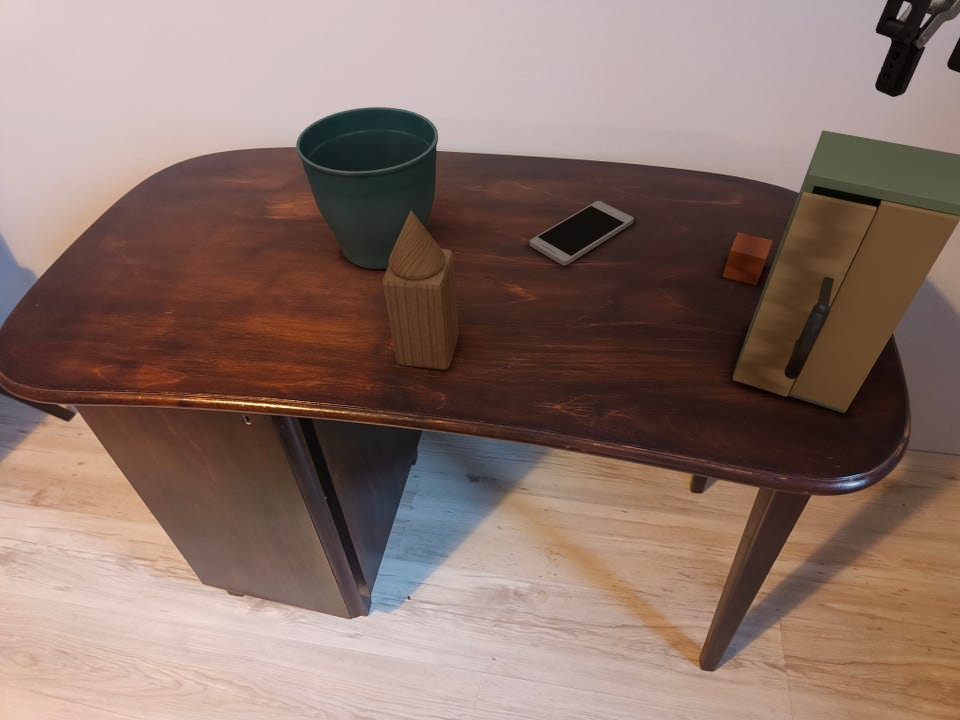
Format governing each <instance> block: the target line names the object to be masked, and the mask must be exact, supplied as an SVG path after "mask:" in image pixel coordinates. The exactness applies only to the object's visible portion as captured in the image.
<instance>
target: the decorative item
mask: <svg viewBox="0 0 960 720" xmlns="http://www.w3.org/2000/svg"><path fill="white" fill-rule="evenodd" d="M454 260H455V259H454V254H453V251H452V250H450V249H446V248H441V247H440V245H439V244H438V243H437V241H436V240H435V239H434V238H433V236H432V235H431V234H430V232H429V231H428V230H427V228H426V229H425V227H424V226H423V225H422V223H421V222H420V221H419V220H418V218H417V217H416V216H415V214H414V213H413V212H412V210H411V211H410V213H409V215H408V217H407V219H406V222H405V224H404V226H403V228H402V230H401V233H400V235H399V237H398V239H397V242H396V244H395V246H394V248H393V250H392V253H391V255H390V258H389V266H388V268H386V271H385V273H384V276H383V278H382V288H383V292H384V298H385V304H386V310H387V316H388V320H389V326H390V332H391V338H392V345H393V349H394V356H395V360H396V363H397V365H399V366H404V367H415V368H422V369H433V370H440V371H441V370H442V371H446V370H448V369H450V366H451V363H452V361H453V357H454V353H455V350H456V347H457V343H458V339H459V335H460V332H459V318H458V303H457V289H456V276H455V275H456V274H455V261H454Z"/></svg>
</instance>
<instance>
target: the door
mask: <svg viewBox="0 0 960 720" xmlns="http://www.w3.org/2000/svg"><path fill="white" fill-rule="evenodd" d="M876 209H877V207H874V206H869V205H864V204H860V203H855V202H850V201H845V200H841V199H836V198H831V197H826V196H822V195H817V194H812V193H807V192H803V194H802V197H801V199H800V202H799V205H798V207H797V210H796V213H795V215H794V218H793V221H792V223H791V226H790V229H789V231H788V234H787V236H786V239H785V242H784V244H783V247H782V250H781V252H780V255H779V258H778V260H777V263H776V266H775V268H774V271H773V274H772V276H771V279H770V282H769V284H768V287H767V290H766V292H765V295H764V298H763V300H762V303H761V306H760V308H759V311H758V314H757V316H756V319H755V321H754V324H753V327H752V329H751V332H750V335H749V337H748V340H747V343H746V345H745V348H744V351H743V353H742V356H741V359H740V361H739V364H738V367H737V369H736V372H735V375H734V377H733V376H732V377H733V378H732V381H735V382H738V383H742V384H745V385H747V386H751V387H754V388H757V389H760V390H763V391H767V392H770V393H773V394H775V395H780V396H782V397H786V398H787V397H788V393H789V391H790V389H791V387H792V385H793V383H794V381H795V379H796V378H798V377H799V375H800V373H801V371H802V369H803V367H804V365H805V363H806V361H807V359H808V357H809V355H810V353H811V351H812V349H813V346H814V344H815V342H816V340H817V338H818V336H819V334H820V332H821V330H822V328H823V326H824V324H825V322H826V320H827V318H828V315H829V313H830V310H831V309H830V306H831V304H832V302H833V299H834V297H835V295H836V293H837V291H838V289H839V287H840V285H841V283H842V281H843V279H844V277H845V274H846V272H847V270H848V268H849V266H850V264H851V262H852V260H853V258H854V256H855V254H856V252H857V249H858V247H859V245H860V243H861V241H862V239H863V237H864V235H865V233H866V231H867V229H868V227H869V224H870V222H871V220H872V218H873V216H874V214H875V212H876Z"/></svg>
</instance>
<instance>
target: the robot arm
mask: <svg viewBox="0 0 960 720" xmlns="http://www.w3.org/2000/svg"><path fill="white" fill-rule="evenodd" d="M904 2H905V3H908V6H907V7H906V9H905V10H904V11H903V12H902V13H901V15H900V16H899V14H900V11H901V8H902V6H903V4H904ZM959 14H960V0H886V3H885V5H884V8H883V10H882V13H881V15H880V17H879V19H878V22H877V24H876V25H875V33H876V34H878V35H881V36H883V37H886V38H889V39H890V45H889V48H888V51H887V53H886V56H885V58H884V61H883V63H882V66H881V68H880V71H879V73H878V74H877V77H876V81H875V84H874V87H875V89H876V91H877V92H880V93H882V94H885V95H887V96H889V97H891V98H897V97H899V96H902V95H904V94H905V93H906V92H907V90H908V87H909V85H910V83H911V81H912V79H913V76H914V74H915V73H916V70H917V67H918V65H919V63H920V61H921V59H922V56H923V54H924V52H925V49H926V48H927V46H926V45H927V43H929V41H930V40H931V39H932V38H933V36H934V35H935V34H936V33H937V31H938V30H940V28H941V27H942V25H943V24H944V23H946V22H949V21H952V20H954V19H956V18H957V17H958V15H959ZM926 15H930V16H929V17H928V19H927V20H926V21H925V22H924V24H923V21H924V19H925V18H926ZM898 16H899V18H898ZM922 24H923V25H922ZM946 66H947V69H948V70H951V71H953V72H956V73H959V74H960V36H959V37H958V39H957V41H956V43H955V46H954V48H953V50H952V52H951V54H950V56H949V58H948V60H947V63H946Z"/></svg>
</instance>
